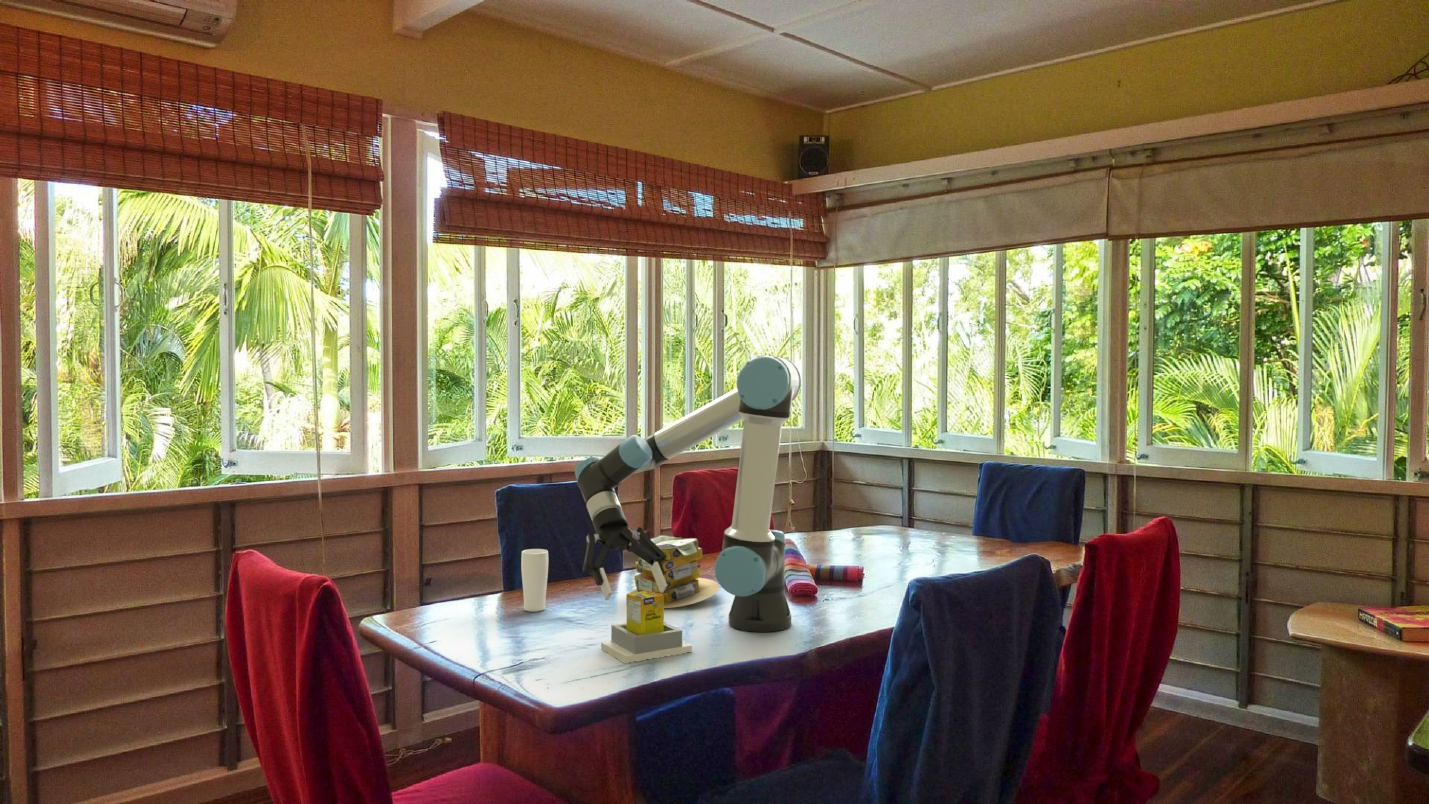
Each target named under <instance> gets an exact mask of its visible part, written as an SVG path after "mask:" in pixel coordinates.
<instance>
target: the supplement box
mask: <svg viewBox="0 0 1429 804" xmlns="http://www.w3.org/2000/svg"><path fill="white" fill-rule="evenodd" d="M664 609H665V608H664V595H662V594H659V593H655V592H652V591H648V590H646V591H640V592H634V593H630V592H629V593H627V594H626V623H627V630H628V631H630V632H632V633H633V634H635V635H637V636H638V635H645V634H651V633H658V632H664V622H665V621H664V616H665V615H664V614H665V613H664V612H665V611H664Z"/></svg>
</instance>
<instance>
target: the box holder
mask: <svg viewBox="0 0 1429 804" xmlns="http://www.w3.org/2000/svg"><path fill="white" fill-rule="evenodd" d="M610 632H611V633H610V636H611V638H610V639H611V640H607V641H601V643H600V644H601V645H600V649H601V651H603V652H605V653H607V654H609V655H610V656H612V657H614V658H616V659H617V660H619V661H620V662H622V661H623V663H624V664H630V663H629V662H631V663H634V662H633V661H637V662H642V661H641V660H643V661H647V660H646V659H649V660H651V659H650V658H655V659H660V657H661V658H665V657H664V656H667V657H669V656H668V655H673V656H678V655H677V654H679V655H683V654H682V653H685V654H687V653H686V652H691V653H693V645H692V644H690V643H688V642H686V641H684V640H683V630H682V629H680V628H678V627H675V626H674V625H672V624H669V623H667V622H665V621H664V632H658V633H651V634H645V635H638V636H637V635H635V634H633V633H632V632H630V631H628V630H627V622H626V623H625V622H624V623H619V624H618V623H617V624H613V625H612V624H611V631H610Z"/></svg>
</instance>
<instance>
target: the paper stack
mask: <svg viewBox="0 0 1429 804" xmlns="http://www.w3.org/2000/svg"><path fill="white" fill-rule="evenodd" d="M649 539H650V540H651V541H652V542H653V543H654V544H656V545H657V546H658V547H659V548H660V549H661V550H662V551H663V552H664V553H665V554H666V556H667V558H666V559H665V561H664V563H663V564H662V566H663V569H664V571H665V575H664V578H665V581H666V583H667V587H666V589H665V590H664V592H661V593H660V591H659V588H658V586H657V583H656V581H655V578H654V576H653V573H652V571H651V567H652V565H650V564H649V563H647V562H646V561H644V560H643V559H641V558H640V557H639V556H637V555H636V554H635V556H637V558H636V560H637V561H635V562H634V563H635V570H636V573H637V574H636V575H635V576H634V584H635V587H636V588H635V589H633V590H631V592H629V593H634V592H640V591H646V590H648V591H652V592H655V593H659V594H662V595H664V609H668V608H677V607H678V608H679V607H685V606H688V605H692V604H696V603H699V602H700V603H701V602H702V601H705V600H707V599H709V598H711V597H713V596H715V595H716V594H717V593H718V592H719V590H720V584H719V582H718V581H717V582H716V581H715V580H712V579H709V578H704V577H701V572H700V568H701V566H702V564H700V563H697V561H698V560H701V559H703V557H704V556H703V548H702V547H699V540H698V539H697V538H693V537H692V538H687V537H686V538H684V537H683V538H682V537H675V536H668V535H659V536H656V537H651V538H649ZM654 561H655V560H654Z"/></svg>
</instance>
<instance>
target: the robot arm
mask: <svg viewBox="0 0 1429 804" xmlns="http://www.w3.org/2000/svg"><path fill="white" fill-rule="evenodd" d="M736 378H737V379H736V388H734V389H733V390H730V391H729V392H727V393H725V394H723V395H722V396H719V397H717V399H715V400H713V401H711V402H708V403H707V404H706V405H703V406H701V407H700V408H697V409H696V410H694V411H692V412H691V413H689V414H686V415H685V416H683V417H681V418H679V419H678V420H676V421H674V422H673V423H670V424H669V425H666V426H665V427H663V428H661V429H660V430H658V431H656V432H655V433H653V434H650V435H648V436H647V437H644V438H643V437H641V436H639V435H637V434H632V435H631V436H629V437H627V438H626V439H623V440H622V441H621V442H620V443H619V444H618V445H617V446H616V447H614V448H613V449H612V450H611V451H609V452H608V453H607V454H606V455H604V456H603V457H602V458H600V457H597V456H589V457H587V458H586V459H582V460H580V461H579V462H578V463H577V464H576V466H575V469H574V475H575V478H576V485H577V486H578V488H579V490H580V492H581V495H582V497H583V500H584V503H585V507H586V509H587V512H588V514H589V516H590V519H591V521H592V526H593V528H594V531H595V533H594V531H589V532H587V533H588V534H587V536H586V538H585V543H586V548H585V549H586V550H585V555H584V560H583V564H582V573H583V574H587V573H589V576H591V577H592V578H593V580H594V583H595V585H596V586H600V590H601V592H602V594H603V598H604V600H605V601H608V600H610V598H611V596H612V594H613V591H612V588H611V586H610V585H611V584H610V582H609V579H608V577H607V574H606V572H605V569H604V567H600V566H601V564H602V563H603V561H604V558H605V557H606V555H607V552H608V551H611V552H618V551H621V552H622V551H625V550H626V551H627V552H629V553H633V554H636V555H635V556H637V557H640V558H641V559H643V560H644V561H646V562H647V563H649V564H650V565H652V567H651V571H652V573H653V576H654V578H655V581H656V583H657V586H658V588H659V591H660V593H661V592H664V590H665V589H666V587H667V583H666V581H665V578H664V575H665V571H664V569H663V566H662V564H663V563H664V561H665V559H666V558H667V556H666V554H665V553H664V552H663V551H662V550H661V549H660V548H659V547H658V546H657V545H656V544H654V543H653V542H652V541H651V540H650V539H651V538H650V537H648V535H646V533H645V531H644V529H643V527H641V526H639V527H637V529H636V530H631V529H630V527H629V525H628V520H627V518H626V516H625V513H624V511H623V508H622V505H621V503H620V501H619V498H618V496H617V492H616V491H615V490H616V489H615V488H617V487H618V486H619V485H621V483H623V482H624V481H626V480H627V479H629V478H630V477H631V476H633V475H635V474H638V473H643V472H646V471H652V470H655V469H657V468H659V467H660V466H662V465H663V463H665V462H667V461H669V460H671V459H673V458H674V457H676V456H678V455H681V454H682V453H684V452H687V450H690V449H691V448H693V447H695V446H697V445H699V444H701V443H702V442H704V441H707V440H708V439H710V438H712V437H714V436H716V435H718V434H719V433H722V432H724V431H725V430H727V429H729V428H730V427H732V426H734V425H737V424H739V423H741V422H742V421H743V428H742V429H743V430H742V436H741V437H742V438H741V446H740V452H739V453H740V454H739V455H740V456H739V461H738V462H739V463H738V470H737V471H738V472H737V478H736V479H737V480H736V487H735V497H734V502H733V504H734V505H733V512H732V513H733V514H732V520H731V521H732V522H731V524H730V526H729V527H727V528H726V529H725V530H724V531H723V532H724V533H723V540H722V546H721V547H722V548H721V552H720V553H719V554H718V556H717V558H716V560H715V564H714V574H715V578H716V580H717V583H718V584H719V586H720V587H722V589H723V590H724V591H726V593H729V594H730V595H732V596H734V598H733V601H732V603H731V607H730V611H729V613H728V625H729V626H730V627H732V628H735V629H737V630H742V631H747V632H756V633H757V632H758V633H759V632H760V633H763V632H764V633H766V632H776V631H777V632H778V631H779V632H780V631H783V630H786V629H788V628H790V627H791V626H792V613H791V611H790V607H789V604H788V600H787V598H786V593H785V583H786V581H785V579H786V578H785V573H786V572H785V571H786V570H785V569H786V568H785V567H786V537H785V534H784V532H783V531H782V530H777V529H770V527H771V519H772V518H771V517H772V511H773V510H772V509H773V501H774V494H775V485H776V476H777V471H778V470H777V469H778V461H779V453H780V444H781V435H782V428H783V425H784V424H785V423H787V422H788V421H789V420H790V419H791V418H790V417H791V410H792V404H793V403H792V402H793V401H794V400H795V399H796V398H797V397H798V395H799V394H800V392H801V389H802V385H803V384H802V383H803V379H802V374H801V371H800V369H799V368H798V366H797V365H796V364H795V363H794V362H793V361H792V360H790V359H788V358H786V357H782V356H775V355H774V356H773V355H759V356H756V357H754V358H752V359H750V360H749V361H747V362H746V363H744V364H743V366H742V367H741V369H740V370H739V373H738V375H737V377H736ZM597 541H598V543H600V544H601V545H602V546H603V547H602V549H601V551H600V553H599V555H598V557H597V558H596V561H595V563H594V564H592V561H593V555H594V550H595V545H596V543H597ZM630 543H631V544H630ZM654 560H655V561H654Z"/></svg>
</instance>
